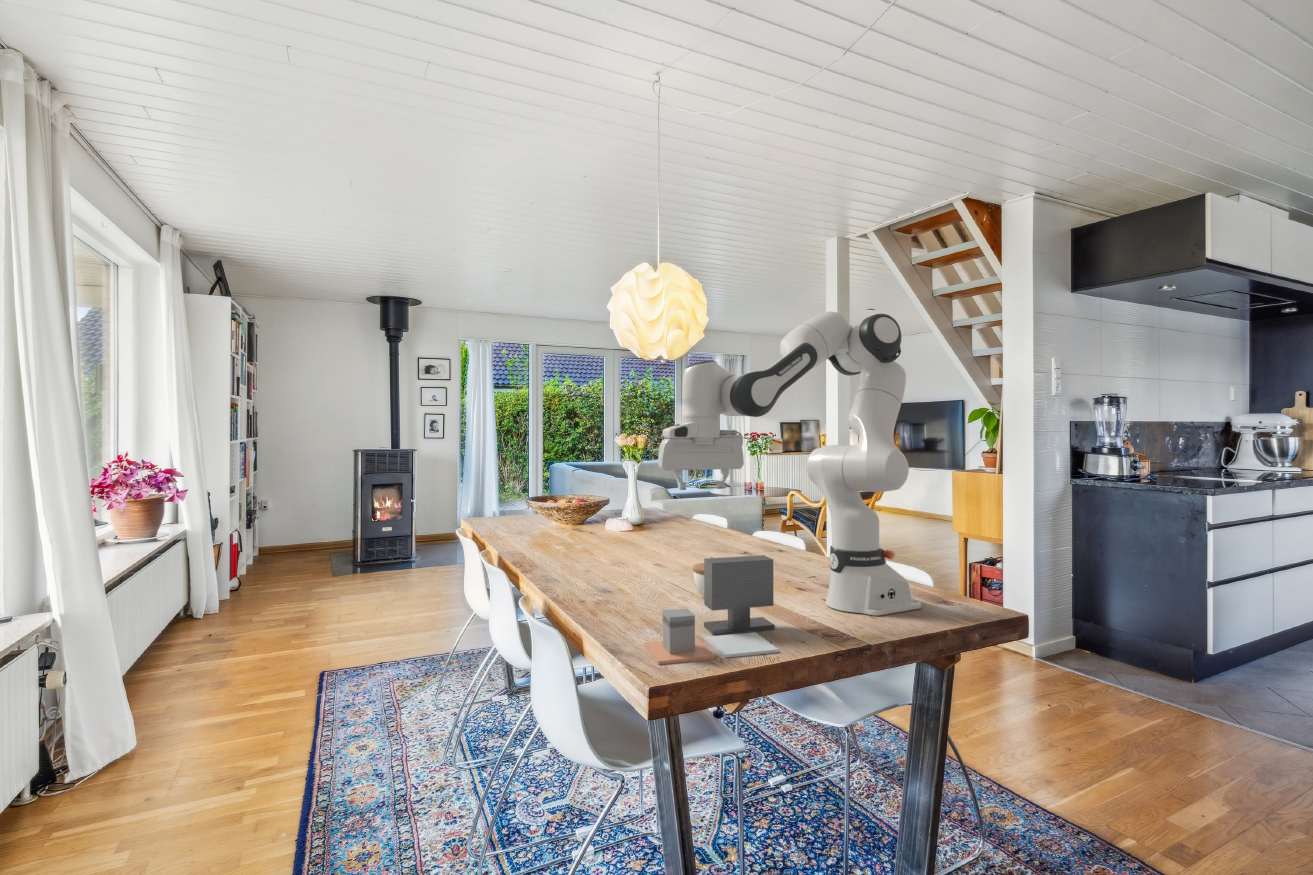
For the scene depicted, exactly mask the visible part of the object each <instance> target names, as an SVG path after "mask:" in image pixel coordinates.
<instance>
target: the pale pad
mask: <svg viewBox="0 0 1313 875" xmlns="http://www.w3.org/2000/svg"><path fill="white" fill-rule="evenodd" d="M705 641H706V642H707V643H709V645H710V646H712V647H713V649H715V650H716V651H717V652H718V653H719V654H720V655H721V656H722V657H723V658H724V659H728V658H738V657H745V656H757V655H766V654H774V653H775V654H778V653H779V648H777V647H776V646H775V645H773V644H771V643H770V642H769V641H768V640H766V639H765V638H764V637H762V636H761V635H760V634H758V633H757V631H753V632H742V633H731V634H720V635H712V636H710V635H709V636H705Z"/></svg>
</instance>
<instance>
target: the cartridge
mask: <svg viewBox="0 0 1313 875" xmlns="http://www.w3.org/2000/svg"><path fill="white" fill-rule="evenodd" d="M695 638H696V615H695V614H694V613H693V612H692V611H691V610H689V609H688V608H677V609H674V608H673V609H663V610H662V641H663V647H664V648H665V649H666V650H667V651H668V653H669V654H678V653H688V652H695Z"/></svg>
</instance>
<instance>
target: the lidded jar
mask: <svg viewBox="0 0 1313 875" xmlns="http://www.w3.org/2000/svg"><path fill="white" fill-rule="evenodd" d="M692 570H693V582H694V586H695V588H696V591H697V592H698V593H699V594H700V596H701V597H702V598H704V562H699V563H695V564H694V565H693V566H692Z"/></svg>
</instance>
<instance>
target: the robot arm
mask: <svg viewBox="0 0 1313 875" xmlns="http://www.w3.org/2000/svg"><path fill="white" fill-rule="evenodd" d="M900 327H901V326H900V325H899V323H898V321H897V320H896V319H895V318H894V317H893V316H892V315H889V314H887V313H876V314H872V315H870V316H867V317H866V318H864V319H863V320H862V321H861V322H859V323H858V324H856V325H854V326H853V325H850V324H849V323H848V321H847V320H846V318H845V317H844V316H843V315H842V314H840V313H839V312H836V311H826V312H821V313H820V314H817V315H815V316H813V317H811V318H809V319H807V320H805V321H804V322H802V323H800V324H799V325H797V326H796V327H794V328H793V329H792V330H791V331H789V332H788V333H787V334H786V335H785V336H784V337H782V339H781V341H780V343H779V354H780V356H781V358H780V359H778V360H777V361H776V362H774V363H773V364H771V365H770V366H769V367H767V368H766V369H765V370H764V369H763V370H759V371H758V370H757V371H752V372H747V373H744V374H738V375H737V374H734V373H732V372H730V371H729V370H727V369H725V368H723V367H722V366H721V365H720V364H719V363H718V362H717V360H714V359H713V360H712V359H710V360H709V359H708V360H703V361H699V362H693V363H692V362H691V363H690V364H688V365H687V366H686V367H685V368H684V371H683V376H682V377H683V378H682V386H681V387H682V389H681V390H682V392H681V394H682V397H681V398H682V403H683V412H682V420H681V421H682V422H681V423H677V424H675V425H671V426H669V427H666V428H664V429H663V430H662V436H663V439H662V440H661V442H660V443H659V448H658V459H657V464H658V467H659V469H660V470H662V471H673V475H672V476H674V478H675V480H676V482H677V490H678V491H686V490H687V482H686V481H683V480H682V478H681V476H682V473H683V472H682V471H700V470H701V471H702V470H706V471H707V470H708V471H709V470H720V474H721V477H720V479H719V480H716V481H715V483H716V486H715V487H716V489H718V490H720V489H721V490H723V489H725V486H726V485H725V482H726V480H727V479H728V477H729V475H730V470H741V469H743V468H742V467H743V466H744V464H745V462H744V452H743V445H744V436H743V434H742V433H741V432H740V431H738V430H736V429H731V430H728V429H721V415H723V416H726V417H744V416H745V417H753V418H757V417H763V416H765V415H767V414H768V413H769V412H770V411H771V410H772V409H773V407H774V406H775V404H776V403H777V401H778V399H779V398H780V397H781V395H782V394H783V393H784V392H785V391H786V390H787V389H788V388H790V387H791V386H792V385H793V384H794V383H796V382H797V381H798V380H800V378H802V377H803V376H804V375H805V374H807V373H808V372H809V371H811V370H813V369H814V368H816V367H818V366H819V365H821V364H822V363H824V362H825V361H827V360H828V361H829V362H830V363H831V365H832V366H833V368H834V370H835V369H836V371H837V372H839V373H840V374H842V375H844V376H849V377H850V376H856V375H859V374H860V377H861V378H860V384H859V387H858V390H857V392H856V394H855V398H854V401H853V404H852V407H851V409H850V412H849V415H848V425H849V427H850V429H851V431H852V432H853V433H854V434H855V435H856V436H858V437H859V441H858V443H856V444H854V445H847V444H845V445H844V444H831V445H825V446H821V447H817V448H815V449H813V450H811V453H809V456H808V458H807V461H806V472H807V475H808V478H809V479H810V481H811V482H812V483H813V484H814V485H815V486H816V487H817V488H818V490H819V491H820V492H821V494H822V495H823V497H824V499H825V501H826V503H827V504H826V505H827V506H828V509H829V514H830V515H829V516H830V522H831V525H830V526H831V545H830V547H829V549H830V550H829V566H830V578H829V584H828V590H827V595H826V598H825V602H824V604H825V605H826V606H827V607H829V608H831V609H834V610H837V611H841V612H847V613H848V612H849V613H854V614H855V613H856V614H857V613H858V614H865V615H869V616H875V617H876V616H883V615H884V616H885V615H890V614H894V613H901V612H908V611H913V610H918V609H922V603H921V602H920V601H919V600H918V599H916V598H914V597H912V595H911V594H912V592H911V588H910V584H909V582H908V580H907V579H906V578H905V577H904V576H903V575H901V574H900V573H899V572H897V571H896V570H895V569H893V567H891V566H890V565H889V564H888V563H887V561H886V560H887V559H888V560H894V558H895V552H894V551H893V550H889V549H885V550H884V549H882V548H881V547H880V519H879V516H878V514H877V512H876V511H874V509H872V508H871V507H870V506H868V505H867V504H866V503H865V501H864V500H863V498H862V495H861V493H860V492H870V493H885V492H892V491H897V490H899V489H901V488H902V487H903V486H904V484H905V483H906V481H907V480H908V476H909V470H910V468H909V467H910V466H909V462H908V459H907V458H906V456H905V455H904V453H903V452H902V451H901V450H900V449H899V448H898V447H897V445H896V443H895V442H896V441H895V439H894V437H895V436H894V435H895V434H894V433H895V432H894V431H895V427H896V423H897V420H898V416H899V413H900V409H901V407H902V406H901V405H902V403H903V399H904V396H905V395H904V394H905V390H906V389H905V388H906V382H907V381H906V380H907V375H906V371H905V368H904V367H903V366H902V365H900V364H899V363H898V362H896V360H897V359H898V358H899V357H900V356H901V353H902V348H901V344H902V332H901V331H902V330H901V328H900Z"/></svg>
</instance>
